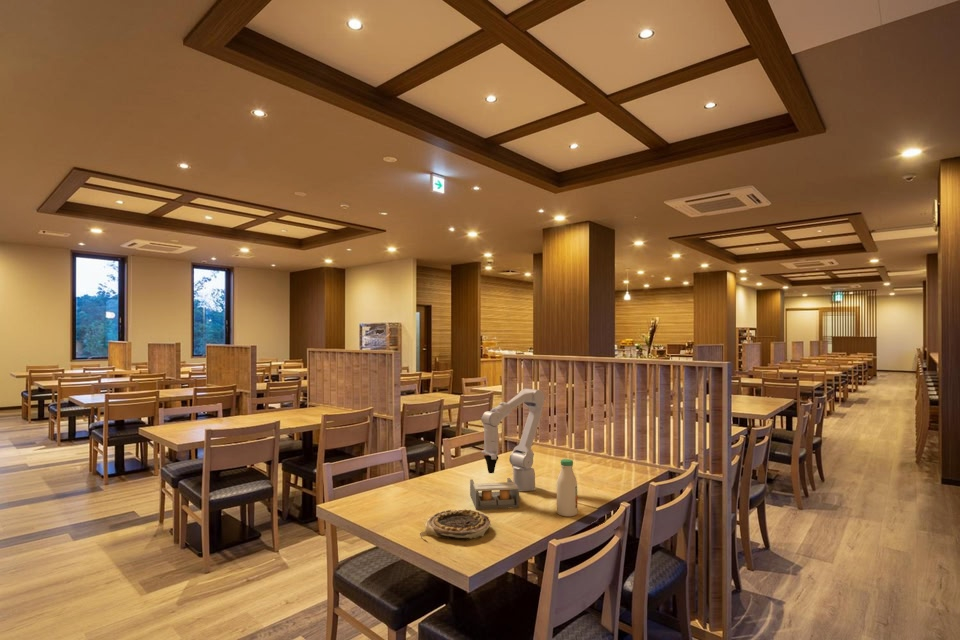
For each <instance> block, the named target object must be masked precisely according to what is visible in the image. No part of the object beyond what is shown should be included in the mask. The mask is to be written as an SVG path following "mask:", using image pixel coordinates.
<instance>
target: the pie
mask: <svg viewBox="0 0 960 640" xmlns="http://www.w3.org/2000/svg"><path fill="white" fill-rule="evenodd" d="M489 518H490V517H489V516H488V515H486V514H484V513H480V512H478V511H477V510H476V511H475V510H471V509H458V510H456V509H455V510H451V509H448V510H442V511H440V512H437V513H435V514H434V515H432V516H430V517H429V518H428V519H427V520H426V521H425V526H424V527H425V528H424V529H425V531H420V533H419V534H420V535H419V537H421V539H422V540H424V541H426V542H427V540H426V539H424V536H425V537H426V536H429V535H430V536H434V537H436V538H443V539H444V538H446V539H450V540H460V541H461V540H463V541H470V540H475V539H476V538H482V537H484V536H485V533H486V532H487V531H488V529H489V528H490V526H491V519H489Z"/></svg>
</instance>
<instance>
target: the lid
mask: <svg viewBox="0 0 960 640" xmlns="http://www.w3.org/2000/svg"><path fill="white" fill-rule="evenodd" d="M473 486H474V488H475V490H476V491H478V492H482V491H490V490H492V491H500V490H513V489H518V487H517V485H516V484H515V483H514V482H513V481H512V482H507V481H506V482H504V481H503V482H483V483H474V484H473Z"/></svg>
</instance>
